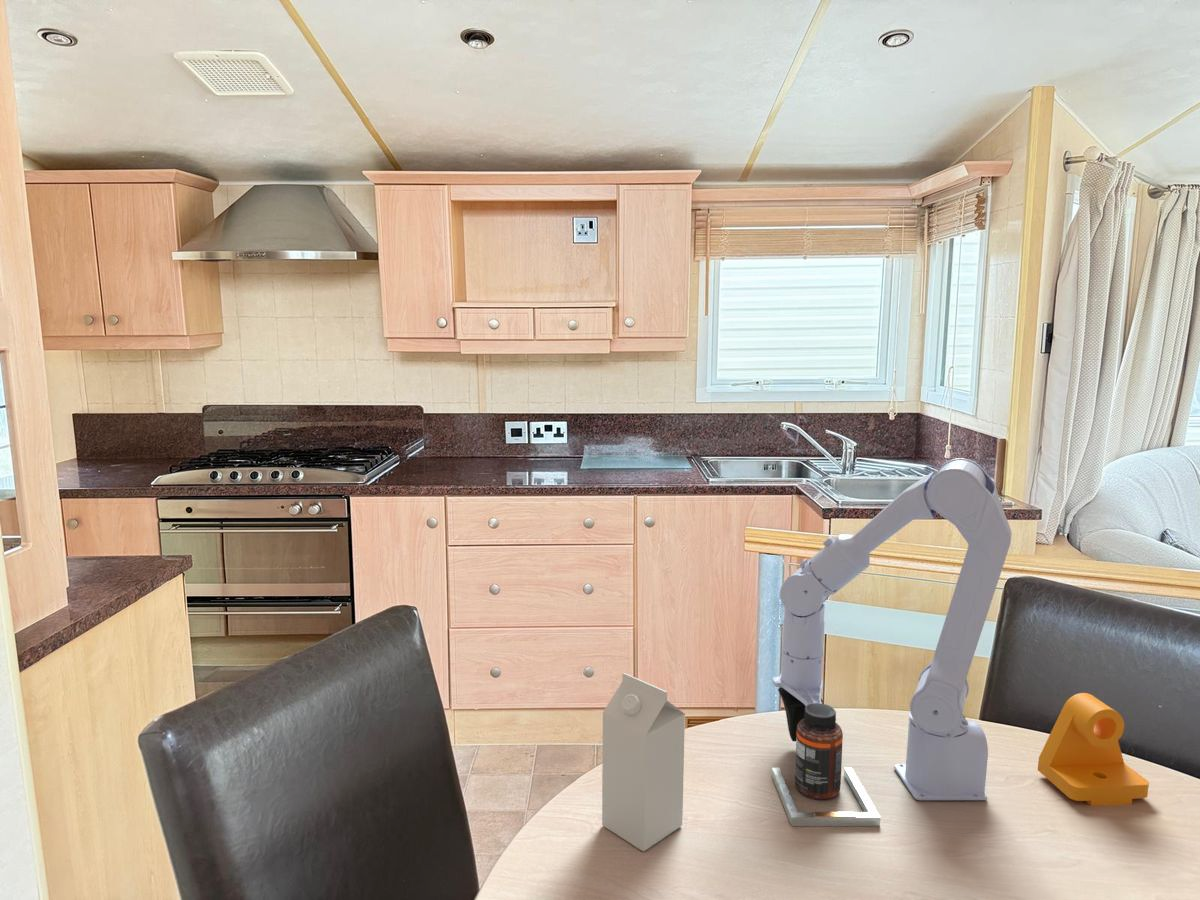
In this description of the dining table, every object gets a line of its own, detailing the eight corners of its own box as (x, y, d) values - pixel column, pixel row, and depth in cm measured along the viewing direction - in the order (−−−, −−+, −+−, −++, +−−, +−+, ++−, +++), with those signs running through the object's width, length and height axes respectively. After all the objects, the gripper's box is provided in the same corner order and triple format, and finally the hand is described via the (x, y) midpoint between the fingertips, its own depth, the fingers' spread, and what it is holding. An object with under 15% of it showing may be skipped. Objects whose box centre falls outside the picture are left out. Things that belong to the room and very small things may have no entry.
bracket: (1072, 807, 102) (1081, 720, 100) (1037, 775, 109) (1045, 694, 107) (1150, 803, 102) (1161, 717, 100) (1110, 772, 109) (1119, 691, 108)
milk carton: (640, 802, 102) (642, 664, 99) (682, 827, 97) (686, 682, 94) (601, 826, 97) (602, 681, 94) (644, 853, 92) (646, 702, 89)
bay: (851, 775, 108) (851, 767, 108) (879, 826, 97) (880, 816, 97) (771, 775, 108) (771, 767, 108) (791, 826, 97) (791, 816, 97)
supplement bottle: (835, 777, 108) (840, 700, 106) (844, 803, 102) (849, 722, 100) (791, 774, 108) (794, 697, 107) (797, 800, 103) (801, 719, 101)
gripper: (763, 631, 120) (760, 714, 122) (787, 673, 106) (782, 766, 108) (809, 631, 120) (805, 714, 122) (839, 673, 106) (834, 766, 108)
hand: (798, 739), depth 115 cm, fingers closed
